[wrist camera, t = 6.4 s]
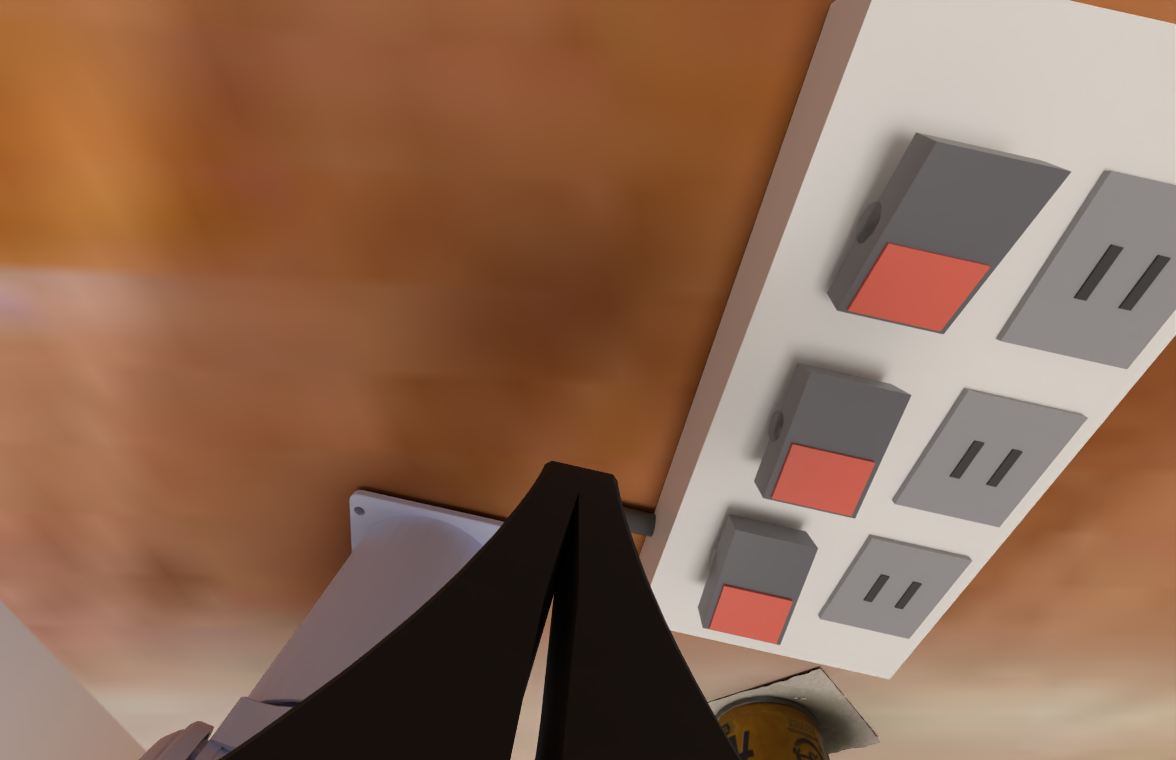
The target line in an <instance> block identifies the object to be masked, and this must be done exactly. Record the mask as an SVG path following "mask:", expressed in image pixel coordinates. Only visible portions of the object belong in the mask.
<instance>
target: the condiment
mask: <svg viewBox="0 0 1176 760" xmlns="http://www.w3.org/2000/svg"><path fill="white" fill-rule="evenodd" d="M793 697H798V698H799V699H793ZM800 698H807V700H801V699H800ZM708 704H709V706H710V708H711V709H712V711H713V713H714V715H715V716H716V718H717V720H718V722H719V724H720V725H721V727H722V729H723V730H724V732H725V734H726V735H727V737H728V738H729V740H730V742H731V743H732V745H733V746H734V748H735V750H736V751H737V753H738V754H739V756H740V758H741V759H742V760H830V759H829V756H828V754H830V753H836V752H839V751H841V750H845V749H850V748H861V747H866V746H868V745H872V744H876V743H880V741H879V740H878V738H877V737H876V736H875V735H874V734H873V732H872V730H871V729H870V728H869V727H868V725H867V724H866V723H865V721H864V720H863V719H862V718H861V717H860V715H859V714H858V713H857V711H856V710H855V709H854V708H853V707H852V705H851V704H850V703H849V702H848V701H847V699H846V698H845V696H843V695H842V694H841V692H840V691H839V690H838V689H837V688H836V686H835V685H834V684H833V682H832V681H831V680H830V679H829V678H828V677H827V676H826V675H825V673H824V672H823V671H822V670H821V669H818V670H814V671H811V672H809V673H808V674H804V675H799V676H795V677H792V678H790V679H789V680H787V681H781V682H777V683H774V684H771V685H770V686H767V687H761V688H758V689H753V690H748V691H745V692H741V693H737V694H735V695H732V696H729V697H726V698H722V699H720V700H716V701H712V702H709V703H708Z"/></svg>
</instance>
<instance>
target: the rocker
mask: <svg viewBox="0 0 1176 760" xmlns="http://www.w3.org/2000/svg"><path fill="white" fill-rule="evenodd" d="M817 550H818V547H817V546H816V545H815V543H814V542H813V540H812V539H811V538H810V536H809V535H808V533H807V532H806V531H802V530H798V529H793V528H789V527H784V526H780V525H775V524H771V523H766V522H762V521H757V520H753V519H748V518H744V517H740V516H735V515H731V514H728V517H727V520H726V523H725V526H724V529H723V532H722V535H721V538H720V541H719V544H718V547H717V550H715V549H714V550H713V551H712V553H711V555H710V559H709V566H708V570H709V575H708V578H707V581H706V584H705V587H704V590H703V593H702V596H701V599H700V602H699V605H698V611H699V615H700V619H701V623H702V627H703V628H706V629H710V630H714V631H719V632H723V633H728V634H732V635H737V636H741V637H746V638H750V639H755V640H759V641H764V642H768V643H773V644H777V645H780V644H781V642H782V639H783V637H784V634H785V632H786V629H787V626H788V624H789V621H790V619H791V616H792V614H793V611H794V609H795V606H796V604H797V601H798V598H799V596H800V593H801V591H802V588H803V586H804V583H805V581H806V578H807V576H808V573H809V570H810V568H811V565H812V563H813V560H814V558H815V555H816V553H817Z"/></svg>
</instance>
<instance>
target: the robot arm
mask: <svg viewBox="0 0 1176 760" xmlns="http://www.w3.org/2000/svg"><path fill="white" fill-rule="evenodd" d="M349 503H350V524H351V546H352V553H351V555H350V556H349V558H348V559H347V560H346V562H345V563H344V564H343V566H342V567H341V569H340V570H339V571H338V573H337V574H336V576H335V577H334V578H333V580H332V581H331V582H330V584H329V585H328V587H327V588H326V589H325V591H324V592H323V594H322V595H321V596H320V598H319V599H318V600H317V602H316V603H315V605H314V606H313V607H312V609H311V610H310V612H309V613H308V614H307V616H306V617H305V618H304V620H303V621H302V623H301V624H300V625H299V627H298V628H297V630H296V631H295V632H294V634H293V635H292V636H291V638H290V639H289V641H288V642H287V643H286V645H285V646H284V648H283V649H282V650H281V652H280V653H279V654H278V656H277V657H276V659H275V660H274V661H273V663H272V664H271V666H270V667H269V668H268V670H267V671H266V672H265V674H264V675H263V677H262V678H261V679H260V681H259V682H258V684H257V685H256V686H255V688H254V689H253V690H252V692H251V693H250V695H249V696H248V697H241V698H240V699H239V701H238V702H237V703H236V705H235V706H234V708H233V709H232V710H231V712H230V713H229V714H228V716H227V717H226V718H225V720H224V721H223V723H222V724H221V725H220V727H219V728H218V729H217V731H216V732H215V733H214V735H213V736H212V738H211V739H210V740H209V741H208V738H209V737H210V735H211V733H212V731H213V729H214V727H213V726H211V725H209V724H207V723H204V722H202V721H197V722H194V723H192V724H190V725H189V726H188V727H187V728H186V729H182V730H179V731H177V732H174V733H172V734H169V735H167V736H165V737H163V738H161V739H160V740H159V741H157V742H156V743H155V744H154V745H153V746H152V747H151V748H150V749H149V750H148V751H147V752H146V753H145V754H144V755H143V756H142V757H141V758H140V759H139V760H510V758H511V753H512V749H513V744H514V739H515V734H516V729H517V725H518V720H519V715H520V710H521V705H522V701H523V697H524V694H525V690H526V687H527V683H528V680H529V677H530V673H531V670H532V666H533V663H534V660H535V656H536V653H537V650H538V646H539V643H540V639H541V636H542V633H543V629H544V626H545V622H546V619H547V616H548V612H549V609H550V606H551V602H552V599H553V595H554V599H553V608H552V617H551V627H550V636H549V646H548V655H547V665H546V675H545V684H544V694H543V703H542V713H541V722H540V730H539V737H538V744H537V751H536V757H535V760H742V759H741V758H740V756H739V754H738V753H737V751H736V750H735V748H734V746H733V745H732V743H731V742H730V740H729V738H728V737H727V735H726V734H725V732H724V730H723V729H722V727H721V725H720V724H719V722H718V720H717V718H716V716H715V715H714V713H713V711H712V709H711V708H710V706H709V704H708V702H707V700H706V699H705V697H704V695H703V693H702V691H701V690H700V688H699V686H698V684H697V683H696V681H695V679H694V677H693V675H692V673H691V671H690V669H689V667H688V665H687V663H686V661H685V659H684V658H683V656H682V654H681V652H680V650H679V648H678V646H677V644H676V642H675V640H674V638H673V635H672V633H671V631H670V629H669V627H668V625H667V623H666V621H665V618H664V616H663V614H662V612H661V609H660V607H659V605H658V602H657V600H656V598H655V596H654V593H653V591H652V589H651V586H650V584H649V581H648V579H647V576H646V574H645V571H644V568H643V566H642V563H641V560H640V558H639V555H638V552H637V549H636V547H635V544H634V541H633V538H632V535H631V532H630V529H629V526H628V522H627V519H626V516H625V513H624V509H623V505H622V501H621V497H620V493H619V488H618V482H617V480H616V478H615V477H614V475H613V474H608V473H604V472H599V471H595V470H591V469H586V468H582V467H577V466H573V465H568V464H564V463H559V462H555V461H551V462H549V463H547V464H545V466H544V468H543V470H542V472H541V473H540V475H539V477H538V478H537V480H536V482H535V483H534V485H533V486H532V487H531V489H530V490H529V492H528V493H527V494H526V496H525V497H524V498H523V500H522V501H521V502H520V504H519V505H518V506H517V507H516V509H515V510H514V511H513V512H512V514H511V515H510V516H509V517H508V518H507V520H506V521H505V522H503V521H498V520H494V519H489V518H485V517H480V516H476V515H472V514H467V513H463V512H458V511H454V510H449V509H445V508H440V507H436V506H431V505H427V504H422V503H418V502H413V501H409V500H405V499H400V498H396V497H391V496H387V495H382V494H378V493H373V492H369V491H364V490H357V491H355V492H354V493H353V494H352V495H351V497H350V500H349ZM360 507H361V508H363V509H361V508H360Z"/></svg>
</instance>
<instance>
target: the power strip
mask: <svg viewBox="0 0 1176 760" xmlns="http://www.w3.org/2000/svg"><path fill="white" fill-rule="evenodd" d="M916 132H917V133H922V134H926V135H930V136H935V137H939V138H944V139H948V140H953V141H957V142H962V143H966V144H971V145H975V146H980V147H984V148H989V149H993V150H998V151H1002V152H1007V153H1011V154H1016V155H1020V156H1025V157H1029V158H1034V159H1038V160H1042V161H1044V162H1047V163H1050V164H1053V165H1055V166H1058V167H1061V168H1063V169H1066V170H1069V171H1072V172H1071V173H1070V174H1069V176H1068V177H1067V178H1066V179H1065V181H1064V182H1063V183H1062V185H1061V186H1060V187H1059V188H1058V190H1057V191H1056V192H1055V193H1054V195H1053V196H1052V197H1051V199H1050V200H1049V201H1048V202H1047V204H1046V205H1045V206H1044V207H1043V209H1042V210H1041V211H1040V213H1039V214H1038V215H1037V216H1036V218H1035V219H1034V220H1033V221H1032V223H1031V224H1030V225H1029V226H1028V228H1027V229H1026V230H1025V232H1024V233H1023V234H1022V235H1021V237H1020V238H1019V239H1018V240H1017V242H1016V243H1015V244H1014V246H1013V247H1012V248H1011V249H1010V251H1009V252H1008V253H1007V254H1006V256H1005V257H1004V258H1003V260H1002V261H1001V262H1000V263H999V265H998V266H997V267H996V268H995V270H994V271H993V272H992V274H991V275H990V276H989V277H988V279H987V280H986V281H985V282H984V284H983V285H982V286H981V288H980V289H979V290H978V291H977V293H976V294H975V295H974V296H973V298H972V299H971V300H970V302H969V303H968V304H967V305H966V307H965V308H964V309H963V310H962V312H961V313H960V314H959V316H958V317H957V318H956V319H955V321H954V322H953V323H952V324H951V326H950V327H949V328H948V329H947V331H946V332H945V333H944V334H939V333H935V332H930V331H926V330H921V329H917V328H912V327H908V326H903V325H899V324H894V323H890V322H885V321H881V320H877V319H872V318H868V317H863V316H859V315H854V314H850V313H845V312H841V311H837V310H836V308H835V306H834V305H833V303H832V301H831V299H830V298H829V296H828V294H827V291H828V289H829V288H830V286H831V284H832V282H833V280H834V279H835V277H836V275H837V273H838V271H839V270H840V268H841V266H842V264H843V262H844V261H845V259H846V257H847V255H848V254H849V252H850V250H851V248H852V246H853V245H854V243H855V241H856V239H855V232H856V227H857V224H858V222H859V219H860V217H861V215H862V214H863V212H864V211H865V209H866V208H867V207H868V206H869V205H870V204H871V203H873V202H875V201H878V200H879V198H880V196H881V194H882V193H883V191H884V189H885V187H886V185H887V184H888V182H889V180H890V178H891V176H892V175H893V173H894V171H895V169H896V167H897V166H898V164H899V162H900V160H901V158H902V157H903V155H904V153H905V151H906V150H907V148H908V146H909V144H910V142H911V141H912V139H913V137H914V135H915V133H916ZM1175 335H1176V24H1173V23H1168V22H1164V21H1159V20H1155V19H1150V18H1146V17H1141V16H1137V15H1132V14H1128V13H1123V12H1119V11H1114V10H1110V9H1105V8H1101V7H1096V6H1092V5H1087V4H1083V3H1078V2H1074V1H1069V0H836V1H834V2H833V3H832V4H831V5H830V8H829V11H828V14H827V17H826V19H825V22H824V25H823V28H822V31H821V34H820V37H819V40H818V42H817V45H816V48H815V51H814V54H813V57H812V60H811V63H810V65H809V68H808V71H807V74H806V77H805V80H804V83H803V86H802V89H801V91H800V94H799V97H798V100H797V103H796V106H795V109H794V112H793V114H792V117H791V120H790V123H789V126H788V129H787V132H786V135H785V137H784V140H783V143H782V146H781V149H780V152H779V155H778V158H777V161H776V163H775V166H774V169H773V172H772V175H771V178H770V181H769V184H768V186H767V189H766V192H765V195H764V198H763V201H762V204H761V207H760V210H759V212H758V215H757V218H756V221H755V224H754V227H753V230H752V233H751V235H750V238H749V241H748V244H747V247H746V250H745V253H744V256H743V258H742V261H741V264H740V267H739V270H738V273H737V276H736V279H735V282H734V284H733V287H732V290H731V293H730V296H729V299H728V302H727V305H726V307H725V310H724V313H723V316H722V319H721V322H720V325H719V328H718V330H717V333H716V336H715V339H714V342H713V345H712V348H711V351H710V354H709V356H708V359H707V362H706V365H705V368H704V371H703V374H702V377H701V379H700V382H699V385H698V388H697V391H696V394H695V397H694V400H693V402H692V405H691V408H690V411H689V414H688V417H687V420H686V423H685V426H684V428H683V431H682V434H681V437H680V440H679V443H678V446H677V449H676V451H675V454H674V457H673V460H672V463H671V466H670V469H669V472H668V474H667V477H666V480H665V483H664V486H663V489H662V492H661V495H660V498H659V500H658V503H657V506H656V509H655V512H654V514H653V513H648V512H644V511H639V510H635V509H630V508H626V507H623V509H624V513H625V516H626V519H627V522H628V526H629V529H630V532H632V533H636V534H640V535H645V536H646V538H645V541H644V544H643V547H642V549H641V552H640V555H639V558H640V560H641V563H642V566H643V568H644V571H645V574H646V576H647V579H648V581H649V584H650V586H651V589H652V591H653V593H654V596H655V598H656V600H657V602H658V605H659V607H660V609H661V612H662V614H663V616H664V618H665V621H666V623H667V625H668V627H669V629H670V630H671V631H676V632H680V633H685V634H689V635H693V636H698V637H702V638H707V639H711V640H716V641H720V642H725V643H729V644H734V645H738V646H743V647H747V648H752V649H756V650H760V651H765V652H769V653H774V654H778V655H783V656H787V657H792V658H796V659H801V660H805V661H810V662H814V663H818V664H823V665H827V666H832V667H836V668H841V669H845V670H850V671H854V672H859V673H863V674H868V675H872V676H877V677H881V678H885V679H890V678H891V677H892V676H893V674H894V673H895V672H896V671H897V670H898V668H899V667H900V666H901V665H902V664H903V662H904V661H905V660H906V659H907V658H908V656H909V655H910V654H911V653H912V652H913V650H914V649H915V648H916V647H917V646H918V644H919V643H920V642H921V641H922V640H923V638H924V637H925V636H926V635H927V634H928V632H929V631H930V630H931V629H932V628H933V626H934V625H935V624H936V623H937V621H938V620H939V619H940V618H941V617H942V615H943V614H944V613H945V612H946V611H947V609H948V608H949V607H950V606H951V605H952V603H953V602H954V601H955V600H956V599H957V597H958V596H959V595H960V594H961V593H962V591H963V590H964V589H965V588H966V587H967V585H968V584H969V583H970V582H971V581H972V579H973V578H974V577H975V576H976V575H977V573H978V572H979V571H980V570H981V569H982V567H983V566H984V565H985V564H986V562H987V561H988V560H989V559H990V558H991V556H992V555H993V554H994V553H995V552H996V550H997V549H998V548H999V547H1000V546H1001V544H1002V543H1003V542H1004V541H1005V540H1006V538H1007V537H1008V536H1009V535H1010V534H1011V532H1012V531H1013V530H1014V529H1015V528H1016V526H1017V525H1018V524H1019V523H1020V522H1021V520H1022V519H1023V518H1024V517H1025V516H1026V514H1027V513H1028V512H1029V511H1030V510H1031V508H1032V507H1033V506H1034V505H1035V503H1036V502H1037V501H1038V500H1039V499H1040V497H1041V496H1042V495H1043V494H1044V493H1045V491H1046V490H1047V489H1048V488H1049V487H1050V485H1051V484H1052V483H1053V482H1054V481H1055V479H1056V478H1057V477H1058V476H1059V475H1060V473H1061V472H1062V471H1063V470H1064V469H1065V467H1066V466H1067V465H1068V464H1069V463H1070V461H1071V460H1072V459H1073V458H1074V457H1075V455H1076V454H1077V453H1078V452H1079V450H1080V449H1081V448H1082V447H1083V446H1084V444H1085V443H1086V442H1087V441H1088V440H1089V438H1090V437H1091V436H1092V435H1093V434H1094V432H1095V431H1096V430H1097V429H1098V428H1099V426H1100V425H1101V424H1102V423H1103V422H1104V420H1105V419H1106V418H1107V417H1108V416H1109V414H1110V413H1111V412H1112V411H1113V410H1114V408H1115V407H1116V406H1117V405H1118V404H1119V402H1120V401H1121V400H1122V399H1123V398H1124V396H1125V395H1126V394H1127V393H1128V391H1129V390H1130V389H1131V388H1132V387H1133V385H1134V384H1135V383H1136V382H1137V381H1138V379H1139V378H1140V377H1141V376H1142V375H1143V373H1144V372H1145V371H1146V370H1147V369H1148V367H1149V366H1150V365H1151V364H1152V363H1153V361H1154V360H1155V359H1156V358H1157V357H1158V355H1159V354H1160V353H1161V352H1162V351H1163V349H1164V348H1165V347H1166V346H1167V345H1168V343H1169V342H1170V341H1171V340H1172V339H1173V337H1174V336H1175ZM797 363H800V364H805V365H809V366H814V367H818V368H823V369H827V370H831V371H836V372H840V373H845V374H849V375H854V376H858V377H863V378H867V379H872V380H876V381H881V382H885V383H890V384H892V385H894V386H896V387H898V388H900V389H901V390H903V391H905V392H907V393H909V394H911V397H910V400H909V402H908V404H907V406H906V408H905V411H904V413H903V415H902V417H901V419H900V422H899V424H898V426H897V428H896V430H895V432H894V435H893V437H892V439H891V441H890V443H889V446H888V448H887V450H886V452H885V454H884V457H883V459H882V461H881V463H880V465H879V467H878V470H877V472H876V474H875V476H874V478H873V481H872V483H871V485H870V487H869V489H868V491H867V494H866V496H865V498H864V500H863V502H862V505H861V507H860V509H859V511H858V513H857V516H856V518H855V519H854V518H849V517H845V516H841V515H836V514H832V513H827V512H823V511H818V510H814V509H809V508H805V507H800V506H796V505H791V504H787V503H782V502H778V501H774V500H769V499H765V498H763V497H762V495H761V493H760V491H759V490H758V488H757V486H756V484H755V482H754V480H755V477H756V474H757V471H758V469H759V466H760V463H761V460H762V458H763V455H764V452H765V450H766V447H767V444H768V441H769V435H768V429H769V423H770V420H771V417H772V415H773V414H774V412H775V411H777V410H780V409H781V406H782V403H783V401H784V398H785V395H786V392H787V390H788V387H789V384H790V381H791V379H792V376H793V373H794V371H795V368H796V365H797ZM728 514H731V515H735V516H740V517H744V518H748V519H753V520H757V521H762V522H766V523H771V524H775V525H780V526H784V527H789V528H793V529H798V530H802V531H806V532H807V533H808V535H809V536H810V538H811V539H812V540H813V542H814V543H815V545H816V546H817V547H818V550H817V553H816V555H815V558H814V560H813V563H812V565H811V568H810V570H809V573H808V576H807V578H806V581H805V583H804V586H803V588H802V591H801V593H800V596H799V598H798V601H797V604H796V606H795V609H794V611H793V614H792V616H791V619H790V621H789V624H788V626H787V629H786V632H785V634H784V637H783V639H782V642H781V644H780V645H777V644H773V643H768V642H764V641H759V640H755V639H750V638H746V637H741V636H737V635H732V634H728V633H723V632H719V631H714V630H710V629H706V628H703V627H702V623H701V619H700V615H699V611H698V605H699V602H700V599H701V596H702V593H703V590H704V587H705V584H706V581H707V578H708V575H709V570H708V566H709V559H710V555H711V553H712V551H713V550H714V549H715V550H717V547H718V544H719V541H720V538H721V535H722V532H723V529H724V526H725V523H726V520H727V517H728Z"/></svg>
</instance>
